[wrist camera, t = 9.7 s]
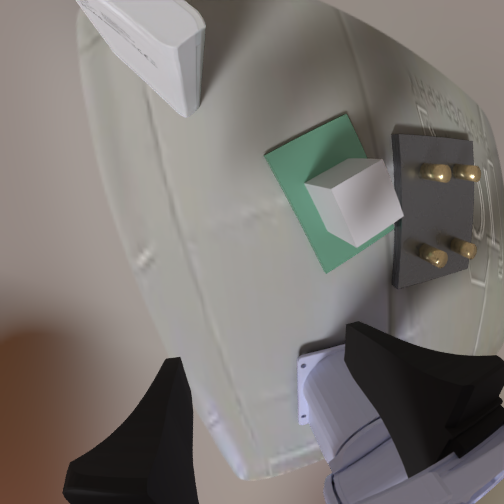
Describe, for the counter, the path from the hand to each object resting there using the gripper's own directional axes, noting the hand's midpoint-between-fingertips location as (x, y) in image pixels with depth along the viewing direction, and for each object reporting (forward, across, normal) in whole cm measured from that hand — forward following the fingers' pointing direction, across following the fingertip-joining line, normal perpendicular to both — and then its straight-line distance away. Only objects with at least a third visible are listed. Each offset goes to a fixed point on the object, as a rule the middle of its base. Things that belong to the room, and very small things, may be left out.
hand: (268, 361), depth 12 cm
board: (+11, -8, -5) cm, 14 cm away
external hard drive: (+11, +4, -15) cm, 19 cm away
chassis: (+10, -19, -3) cm, 22 cm away
